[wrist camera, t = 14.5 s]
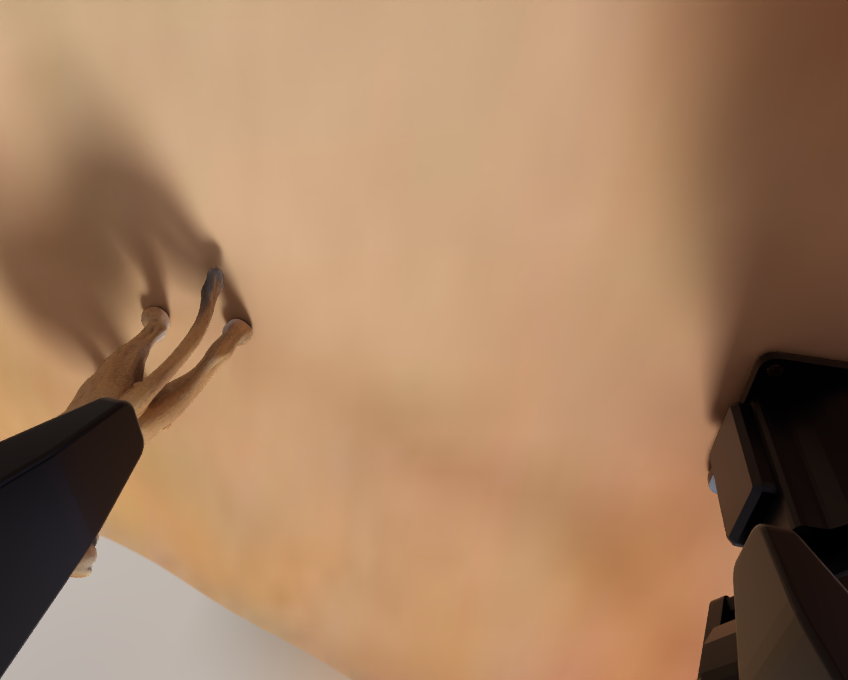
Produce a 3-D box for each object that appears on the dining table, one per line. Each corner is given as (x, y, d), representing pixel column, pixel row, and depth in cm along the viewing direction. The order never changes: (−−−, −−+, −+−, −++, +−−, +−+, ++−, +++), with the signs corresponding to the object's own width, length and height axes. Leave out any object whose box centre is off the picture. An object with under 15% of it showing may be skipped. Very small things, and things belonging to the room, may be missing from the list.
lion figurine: (167, 478, 32) (43, 636, 25) (78, 423, 32) (-76, 570, 24) (279, 297, 24) (141, 455, 17) (162, 217, 23) (-36, 346, 16)
